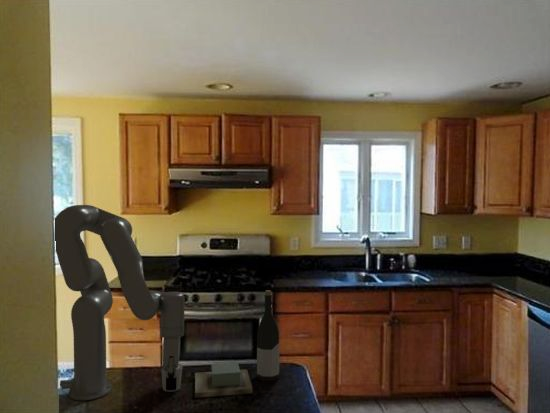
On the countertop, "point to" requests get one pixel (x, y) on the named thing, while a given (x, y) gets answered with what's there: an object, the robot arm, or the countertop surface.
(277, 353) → the wine bottle
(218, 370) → the sage block
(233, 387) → the board
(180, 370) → the grey tapered cup
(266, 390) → the countertop surface
